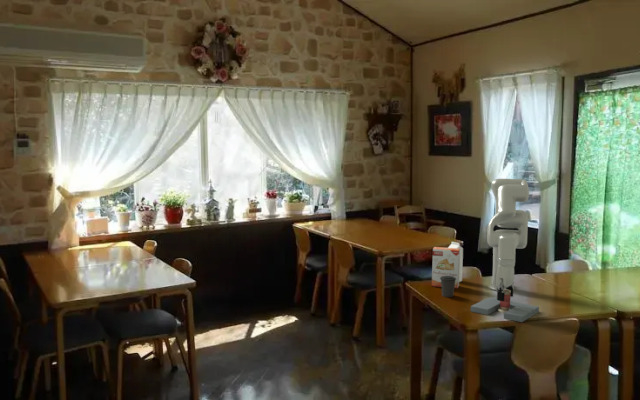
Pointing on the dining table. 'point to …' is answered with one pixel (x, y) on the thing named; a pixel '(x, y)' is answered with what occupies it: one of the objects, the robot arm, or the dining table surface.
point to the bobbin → (505, 302)
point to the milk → (457, 245)
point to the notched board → (515, 313)
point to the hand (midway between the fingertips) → (505, 298)
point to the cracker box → (445, 264)
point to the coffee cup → (447, 285)
